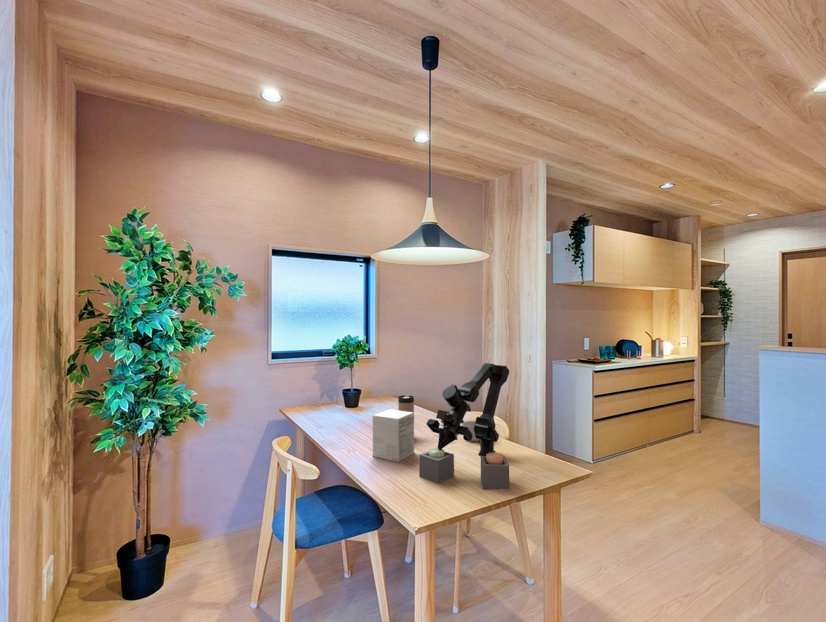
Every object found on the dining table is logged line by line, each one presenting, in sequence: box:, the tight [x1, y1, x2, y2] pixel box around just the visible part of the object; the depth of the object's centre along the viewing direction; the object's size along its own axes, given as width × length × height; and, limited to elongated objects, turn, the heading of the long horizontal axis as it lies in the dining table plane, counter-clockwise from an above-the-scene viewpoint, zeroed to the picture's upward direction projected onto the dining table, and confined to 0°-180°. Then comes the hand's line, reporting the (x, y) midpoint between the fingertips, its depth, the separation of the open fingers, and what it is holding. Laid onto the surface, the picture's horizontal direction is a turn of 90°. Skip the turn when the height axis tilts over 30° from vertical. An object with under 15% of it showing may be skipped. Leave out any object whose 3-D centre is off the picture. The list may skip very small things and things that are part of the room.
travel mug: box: [397, 394, 415, 413], centre depth 197 cm, size 8×8×20 cm
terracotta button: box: [486, 452, 504, 465], centre depth 143 cm, size 6×6×3 cm
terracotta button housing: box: [480, 455, 510, 490], centre depth 143 cm, size 9×9×8 cm
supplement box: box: [372, 408, 415, 463], centre depth 174 cm, size 13×13×18 cm
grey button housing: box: [418, 450, 455, 484], centre depth 150 cm, size 9×9×8 cm
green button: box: [428, 447, 445, 459], centre depth 150 cm, size 6×6×3 cm
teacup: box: [461, 419, 480, 442], centre depth 196 cm, size 14×11×8 cm
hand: (438, 449), depth 151 cm, fingers closed
